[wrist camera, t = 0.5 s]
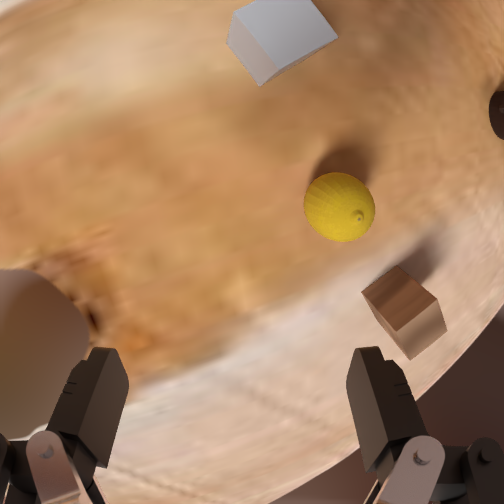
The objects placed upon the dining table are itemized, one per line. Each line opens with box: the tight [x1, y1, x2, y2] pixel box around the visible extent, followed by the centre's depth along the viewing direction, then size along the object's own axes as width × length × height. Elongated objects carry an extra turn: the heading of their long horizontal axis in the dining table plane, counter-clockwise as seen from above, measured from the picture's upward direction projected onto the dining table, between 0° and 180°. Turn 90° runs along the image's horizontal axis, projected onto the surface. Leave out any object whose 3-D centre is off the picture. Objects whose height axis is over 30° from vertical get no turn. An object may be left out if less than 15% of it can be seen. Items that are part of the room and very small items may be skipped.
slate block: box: [226, 0, 339, 87], centre depth 20 cm, size 5×5×8 cm
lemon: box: [304, 172, 375, 242], centre depth 26 cm, size 6×6×8 cm
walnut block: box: [361, 266, 447, 360], centre depth 31 cm, size 5×5×8 cm
